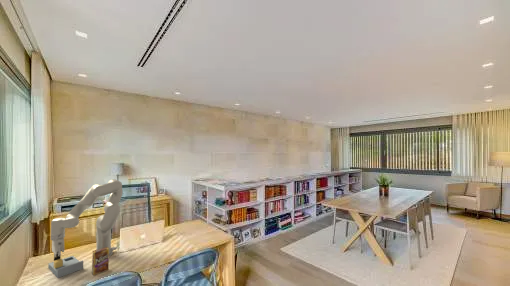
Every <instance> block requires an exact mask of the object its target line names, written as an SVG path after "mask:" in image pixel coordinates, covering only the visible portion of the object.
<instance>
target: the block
mask: <svg viewBox="0 0 510 286" xmlns="http://www.w3.org/2000/svg"><path fill="white" fill-rule="evenodd" d="M62 259H63V258H60V259H58V260H55V261H54V260H53V262H54V268H58V267H61V266H63V260H62Z"/></svg>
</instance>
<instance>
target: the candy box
mask: <svg viewBox="0 0 510 286" xmlns="http://www.w3.org/2000/svg"><path fill="white" fill-rule="evenodd" d="M109 259H110V256H109V248H108V247H105V248H102V249H98V250H96V249H95V250H92V260H91V261H92V262H91V263H92V264H91V274H92V275H93V276H95V275H97V274H100V273H103V272H107V271H109V262H110V261H109Z"/></svg>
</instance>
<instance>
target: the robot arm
mask: <svg viewBox="0 0 510 286" xmlns="http://www.w3.org/2000/svg"><path fill="white" fill-rule="evenodd" d="M107 195H109V196H108V199H107V201H106V202H105V204H104V207H103V211H104V213H103V214H101V215H100V216H99V217H97V219H96V221H95V223H96V225H95V226H96V228H95V229H96V242H95V243H96V248H95V250H98V249H102V248H105V247H108V248H109V257H112V255H113V254H114V251H116V250H118V246H112V228H113V227H114V225H115V223H116V221H117V219H118V218H119V217H118V216H119V215H120V212H121V206H120V205H119V204H120V203H121V200H122V198H123V197H122V196H123V184H122V182H121V181H120V180H118V179H115V178H114V179H111V178H110V179H109V180H108V181H107V183H104V184H101V183H96V184H93V185H92V186H91V187H90V188H89V189H88V190H87V192H86V193H85V194H84V196H82V198H81V199H80V200H79V202H77V203H76V204H75V205H74V206H73V207H72V208H71V210H70V211H69V212H68V214H67V215H66V216H65V218H64V217H55V218H54V219H52V220H51V222H50V241H51V252H52V253H53V262H54V261H55V260H58V259H61V256H62V253H65V237H66V229H71V228H72V229H73V228H76V227H77V226H78V225H79V223H80V219H79V217H80V216H81V215H82V214H83V213H84V212H85V211H86V210H87V209H89V208H91V207H92V206H93V205H94V204H95V202H96V201H97V200H98V198H99V197H103V196H107ZM61 252H62V253H61Z"/></svg>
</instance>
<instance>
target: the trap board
mask: <svg viewBox="0 0 510 286" xmlns="http://www.w3.org/2000/svg"><path fill="white" fill-rule="evenodd" d="M61 259H62V260H63V266H61V267H58V268H54V261H52V262H49V263H47V265H48V266H47V267H48V268H47V269H49V271H51V272H52V274H53V275H54V276H55V277H56V279H59V278H61V277H64V276H67V275H70V274H72V273H76V272H78V271H80V270H84V260H79V259H78V258H76V257H75V256H74V255H70V256H67V257H64V258H61Z"/></svg>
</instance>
